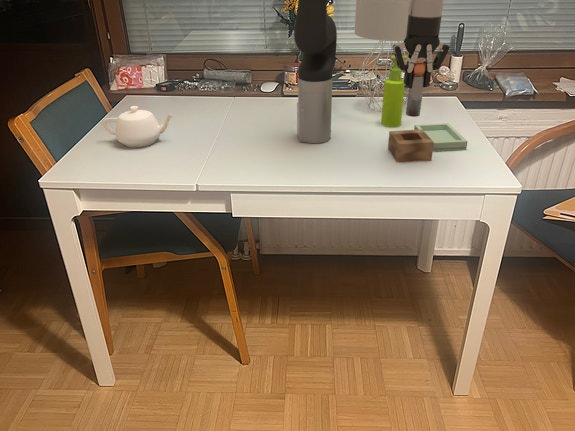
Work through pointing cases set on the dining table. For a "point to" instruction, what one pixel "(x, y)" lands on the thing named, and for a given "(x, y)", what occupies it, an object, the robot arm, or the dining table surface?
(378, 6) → the table lamp
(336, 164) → the dining table surface
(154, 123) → the teapot
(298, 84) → the robot arm
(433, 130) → the tray
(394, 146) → the hitch block
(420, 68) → the grey and copper cylinder
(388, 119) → the soap dispenser
